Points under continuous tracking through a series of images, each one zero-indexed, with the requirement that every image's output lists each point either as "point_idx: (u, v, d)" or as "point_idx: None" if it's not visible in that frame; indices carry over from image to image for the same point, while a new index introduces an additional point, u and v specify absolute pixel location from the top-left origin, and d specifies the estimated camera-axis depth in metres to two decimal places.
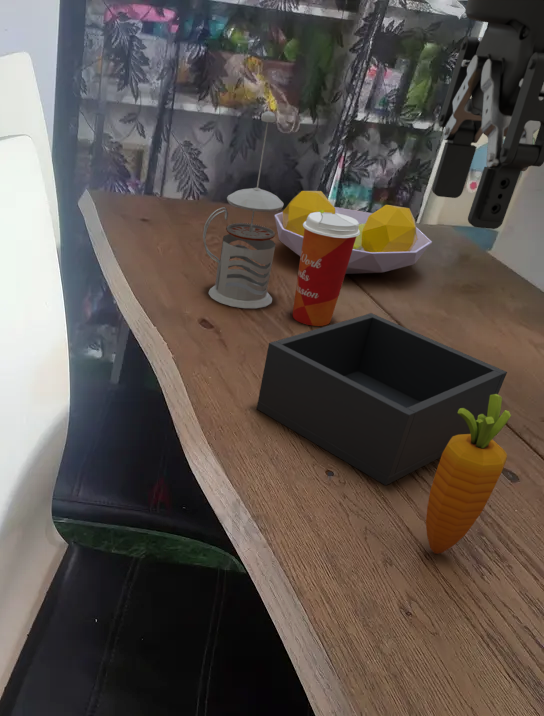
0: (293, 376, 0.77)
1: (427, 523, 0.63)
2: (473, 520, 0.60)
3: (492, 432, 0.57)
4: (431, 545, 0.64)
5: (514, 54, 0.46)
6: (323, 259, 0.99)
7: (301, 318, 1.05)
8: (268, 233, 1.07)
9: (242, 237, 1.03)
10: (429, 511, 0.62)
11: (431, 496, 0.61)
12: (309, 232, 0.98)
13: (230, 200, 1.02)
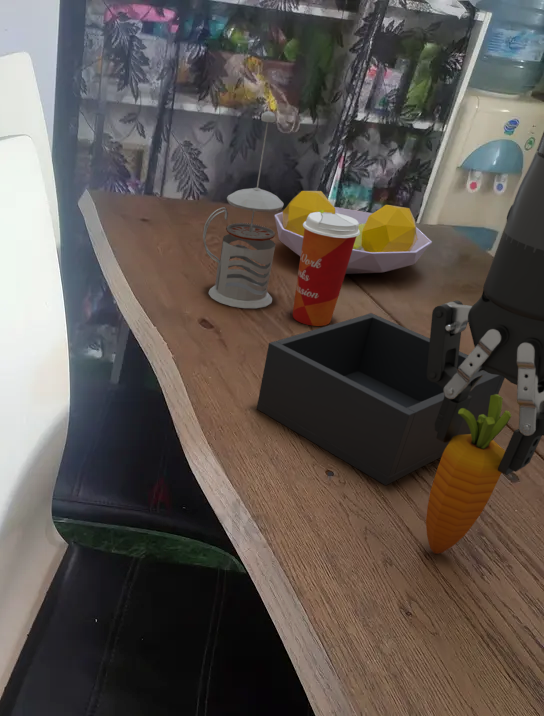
0: (293, 376, 0.77)
1: (427, 523, 0.63)
2: (473, 520, 0.60)
3: (493, 433, 0.56)
4: (431, 545, 0.64)
5: None
6: (323, 259, 0.99)
7: (301, 318, 1.05)
8: (268, 233, 1.07)
9: (242, 237, 1.03)
10: (429, 511, 0.62)
11: (431, 496, 0.61)
12: (309, 232, 0.98)
13: (230, 200, 1.02)
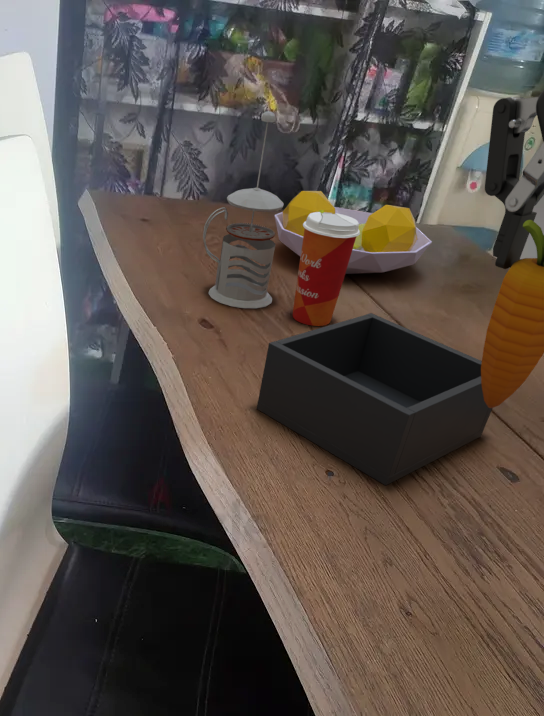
0: (293, 376, 0.77)
1: (482, 369, 0.56)
2: (537, 359, 0.53)
3: None
4: (486, 397, 0.57)
5: None
6: (323, 259, 0.99)
7: (301, 318, 1.05)
8: (268, 233, 1.07)
9: (242, 237, 1.03)
10: (485, 354, 0.55)
11: (488, 334, 0.54)
12: (309, 232, 0.98)
13: (230, 200, 1.02)
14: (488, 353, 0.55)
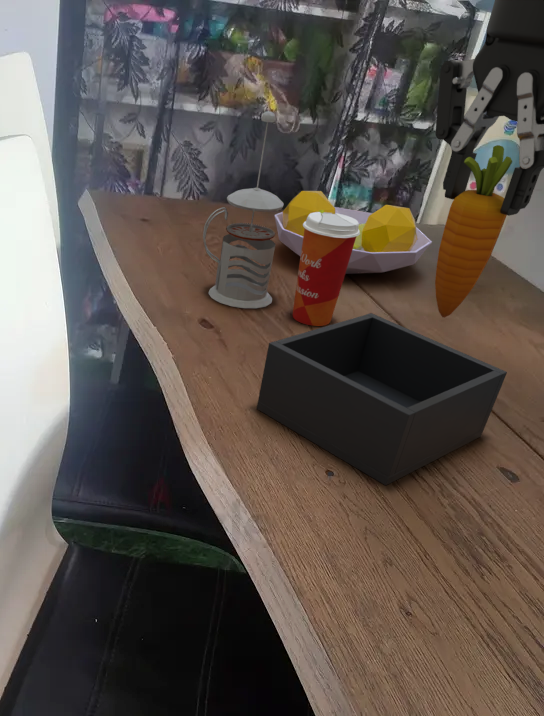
0: (293, 376, 0.77)
1: (436, 284, 0.69)
2: (478, 272, 0.67)
3: (496, 178, 0.63)
4: (440, 307, 0.70)
5: None
6: (323, 259, 0.99)
7: (301, 318, 1.05)
8: (268, 233, 1.07)
9: (242, 237, 1.03)
10: (438, 270, 0.68)
11: (440, 253, 0.68)
12: (309, 232, 0.98)
13: (230, 200, 1.02)
14: (440, 269, 0.68)
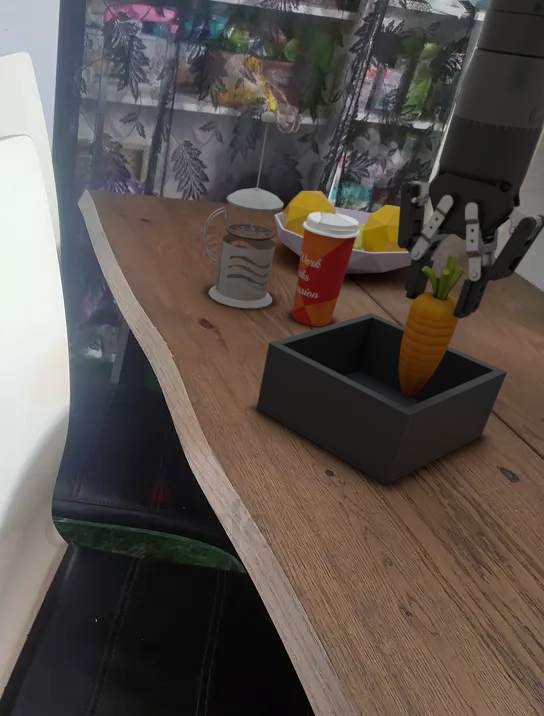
0: (293, 376, 0.77)
1: (399, 371, 0.77)
2: (436, 363, 0.75)
3: (449, 285, 0.71)
4: (403, 390, 0.78)
5: (496, 200, 0.64)
6: (323, 259, 0.99)
7: (301, 318, 1.05)
8: (268, 233, 1.07)
9: (242, 237, 1.03)
10: (401, 359, 0.77)
11: (402, 345, 0.76)
12: (309, 232, 0.98)
13: (230, 200, 1.02)
14: (402, 359, 0.76)
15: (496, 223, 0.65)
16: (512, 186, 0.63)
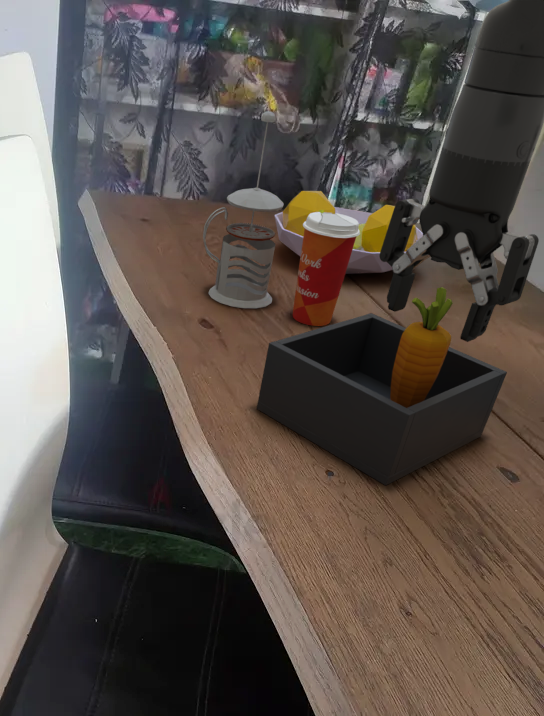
0: (293, 376, 0.77)
1: (391, 397, 0.79)
2: (426, 391, 0.77)
3: (439, 316, 0.73)
4: None
5: (485, 231, 0.66)
6: (323, 259, 0.99)
7: (301, 318, 1.05)
8: (268, 233, 1.07)
9: (242, 237, 1.03)
10: (392, 386, 0.78)
11: (393, 373, 0.78)
12: (309, 232, 0.98)
13: (230, 200, 1.02)
14: (394, 386, 0.78)
15: (485, 253, 0.67)
16: (500, 217, 0.65)
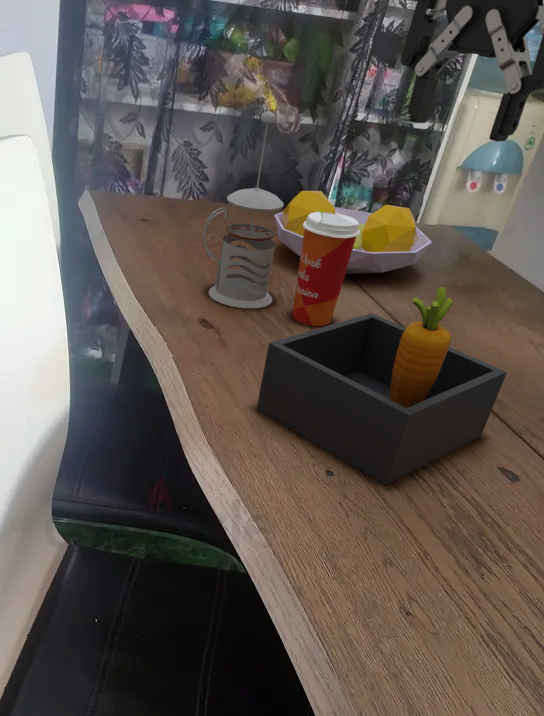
0: (293, 376, 0.77)
1: (391, 397, 0.79)
2: (426, 391, 0.77)
3: (439, 316, 0.73)
4: None
5: (519, 5, 0.61)
6: (323, 259, 0.99)
7: (301, 318, 1.05)
8: (268, 233, 1.07)
9: (242, 237, 1.03)
10: (392, 386, 0.78)
11: (393, 373, 0.78)
12: (309, 232, 0.98)
13: (230, 200, 1.02)
14: (394, 386, 0.78)
15: (518, 32, 0.62)
16: None
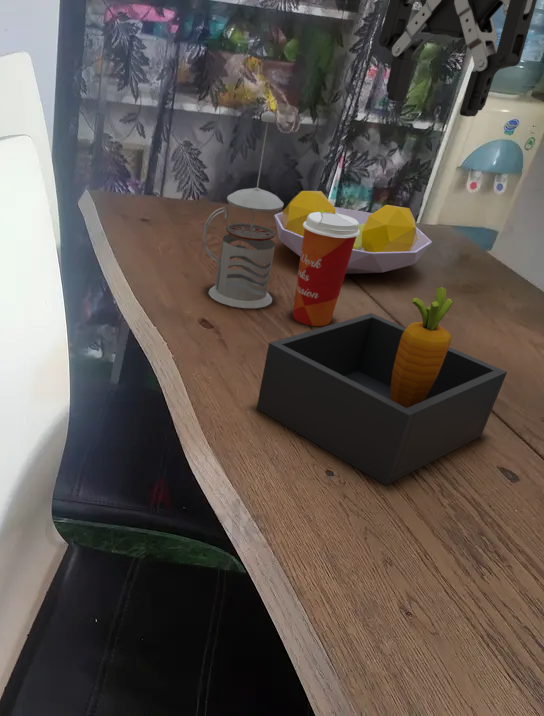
0: (293, 376, 0.77)
1: (391, 397, 0.79)
2: (426, 391, 0.77)
3: (439, 316, 0.73)
4: None
5: None
6: (323, 259, 0.99)
7: (301, 318, 1.05)
8: (268, 233, 1.07)
9: (242, 237, 1.03)
10: (392, 386, 0.78)
11: (393, 373, 0.78)
12: (309, 232, 0.98)
13: (230, 200, 1.02)
14: (394, 386, 0.78)
15: (485, 13, 0.67)
16: None
